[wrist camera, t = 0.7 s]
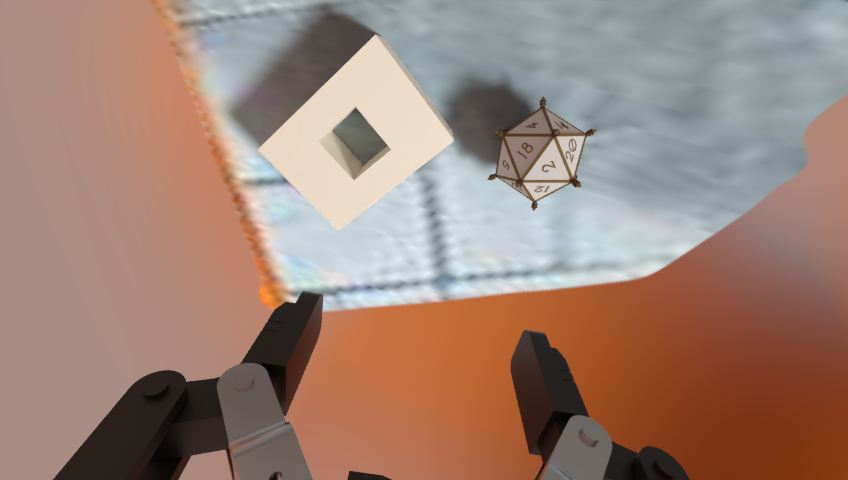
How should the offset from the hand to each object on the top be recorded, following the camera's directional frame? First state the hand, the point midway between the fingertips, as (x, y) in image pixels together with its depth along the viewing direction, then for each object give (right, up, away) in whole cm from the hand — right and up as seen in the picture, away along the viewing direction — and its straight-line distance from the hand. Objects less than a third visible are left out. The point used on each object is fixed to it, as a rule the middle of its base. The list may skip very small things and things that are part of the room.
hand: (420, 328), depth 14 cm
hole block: (-6, +14, +21) cm, 26 cm away
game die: (+11, +13, +21) cm, 27 cm away
